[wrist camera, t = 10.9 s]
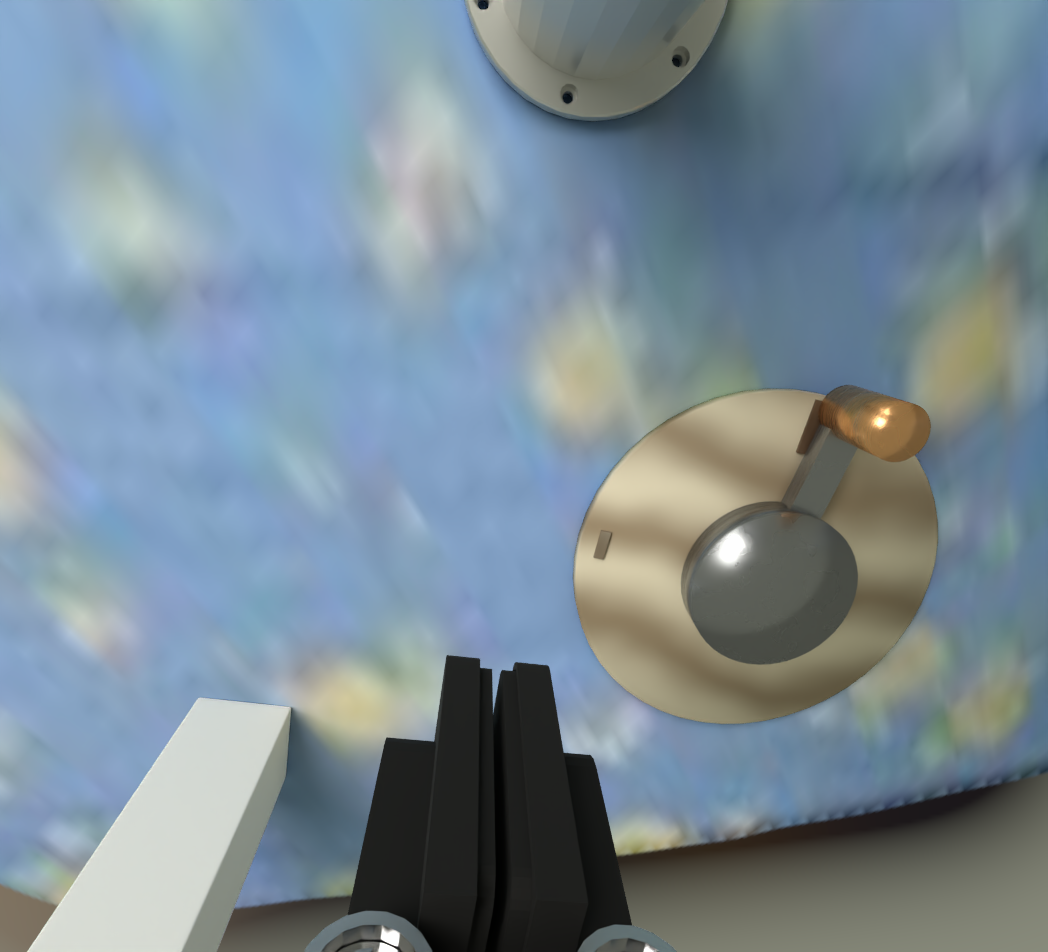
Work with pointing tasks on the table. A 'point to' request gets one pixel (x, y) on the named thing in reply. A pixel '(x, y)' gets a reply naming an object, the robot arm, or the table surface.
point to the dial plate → (700, 499)
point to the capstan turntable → (794, 540)
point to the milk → (180, 838)
